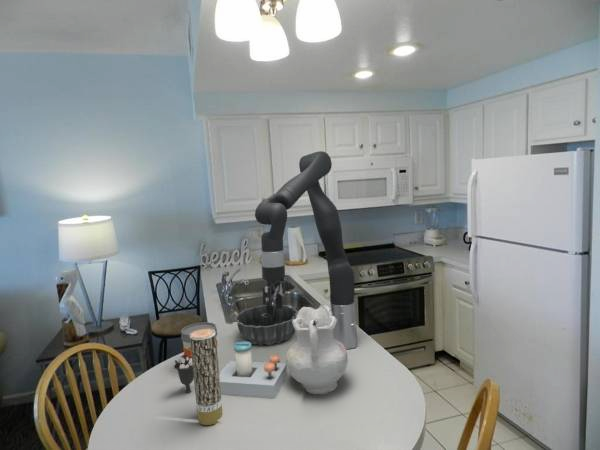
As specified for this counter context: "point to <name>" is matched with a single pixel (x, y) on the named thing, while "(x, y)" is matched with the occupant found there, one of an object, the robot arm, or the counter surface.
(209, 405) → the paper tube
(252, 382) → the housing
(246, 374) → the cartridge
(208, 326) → the reusable coffee cup
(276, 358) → the plunger
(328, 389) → the ceramic pitcher
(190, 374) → the sundae
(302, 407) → the counter surface
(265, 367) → the plunger
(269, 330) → the bundt pan
